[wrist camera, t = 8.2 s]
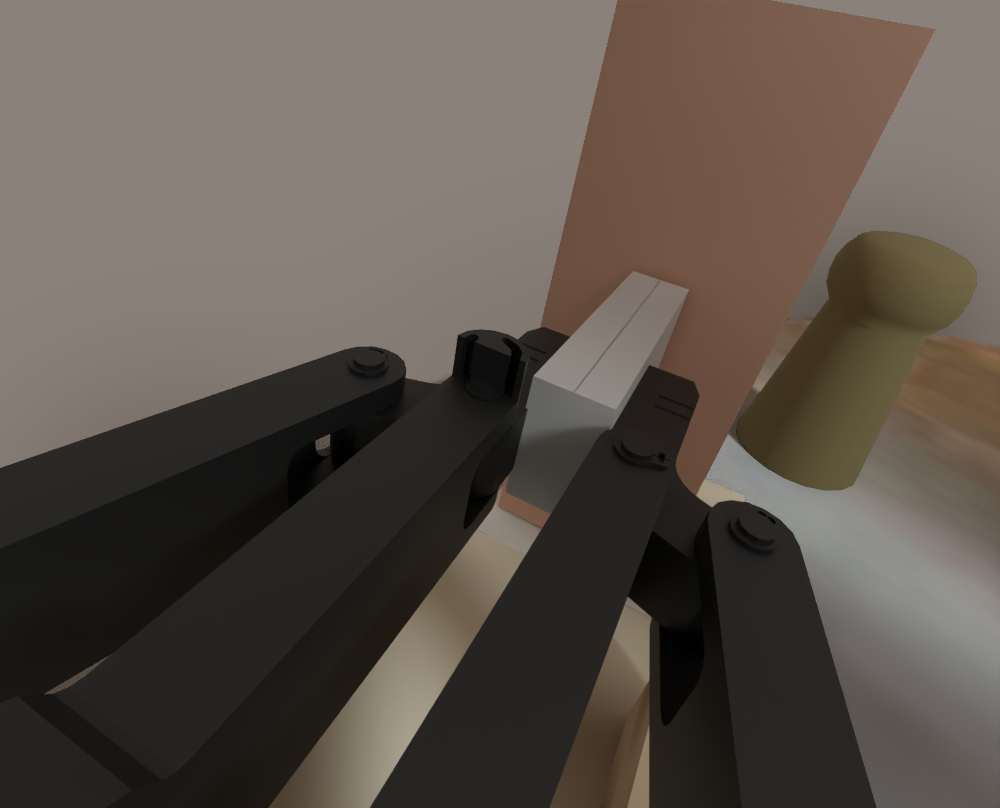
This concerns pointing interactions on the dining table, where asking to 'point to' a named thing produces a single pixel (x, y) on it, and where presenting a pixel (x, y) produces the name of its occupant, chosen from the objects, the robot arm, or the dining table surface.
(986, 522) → the dining table surface
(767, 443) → the olive green pawn
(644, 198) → the post
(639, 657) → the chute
